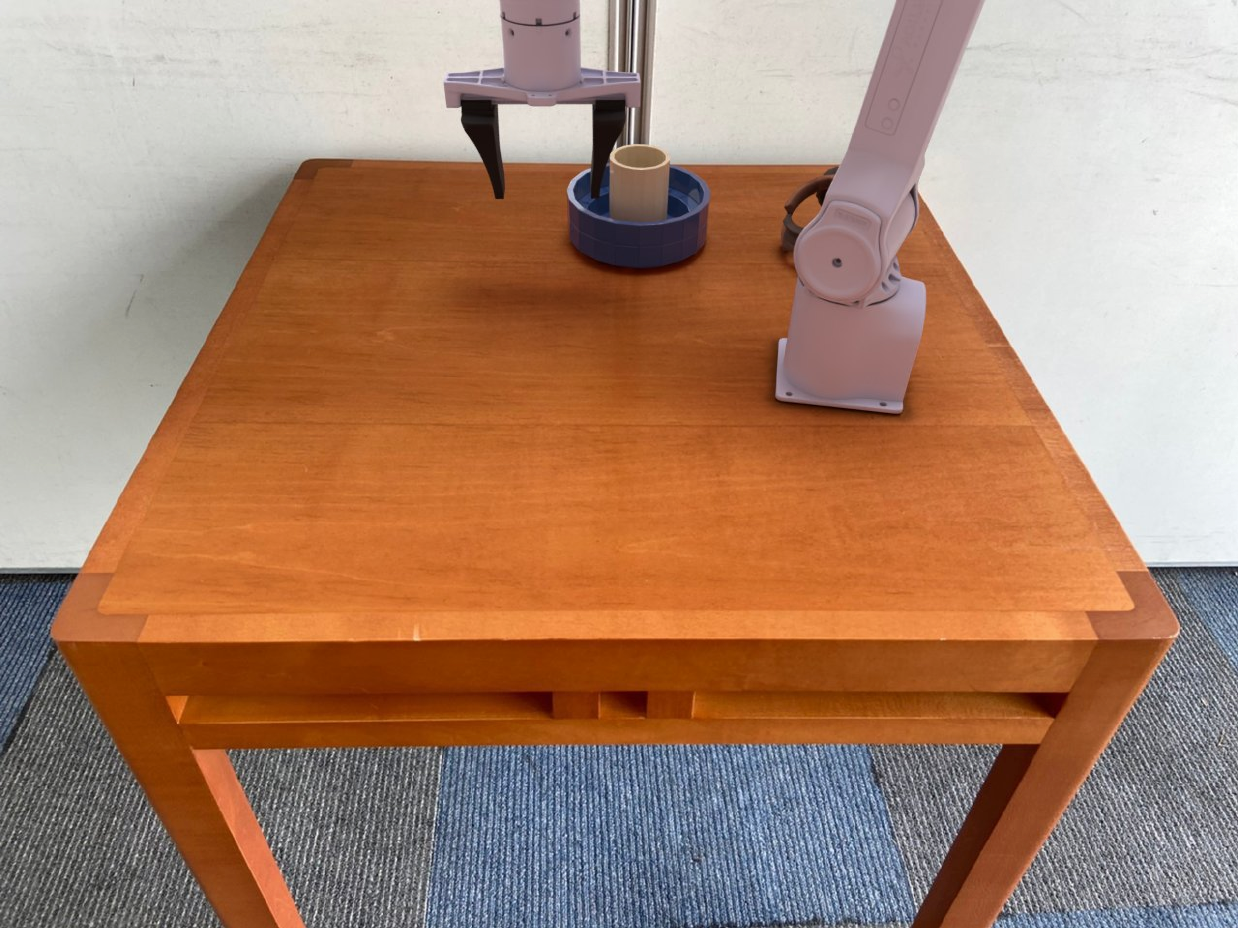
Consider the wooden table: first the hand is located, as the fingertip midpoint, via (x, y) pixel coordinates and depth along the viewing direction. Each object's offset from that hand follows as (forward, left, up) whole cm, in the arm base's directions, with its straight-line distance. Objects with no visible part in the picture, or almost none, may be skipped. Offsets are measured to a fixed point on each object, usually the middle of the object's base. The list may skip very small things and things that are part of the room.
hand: (547, 193), depth 73 cm
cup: (-6, -11, -9) cm, 15 cm away
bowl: (-6, -11, -9) cm, 16 cm away
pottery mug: (-25, -13, -10) cm, 29 cm away
